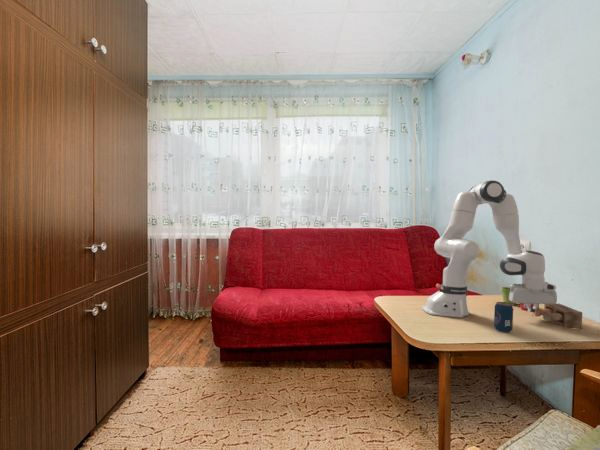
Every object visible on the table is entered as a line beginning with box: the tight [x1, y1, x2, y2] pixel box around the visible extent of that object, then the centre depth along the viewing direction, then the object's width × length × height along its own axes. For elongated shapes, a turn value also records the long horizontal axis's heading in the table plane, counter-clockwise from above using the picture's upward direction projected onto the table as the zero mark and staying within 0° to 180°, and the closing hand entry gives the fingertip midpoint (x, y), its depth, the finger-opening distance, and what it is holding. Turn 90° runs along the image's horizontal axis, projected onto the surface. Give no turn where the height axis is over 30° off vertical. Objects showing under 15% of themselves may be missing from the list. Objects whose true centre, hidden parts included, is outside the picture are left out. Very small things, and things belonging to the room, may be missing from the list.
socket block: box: [543, 302, 583, 330], centre depth 148 cm, size 7×14×8 cm, turn 175°
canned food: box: [519, 303, 534, 312], centre depth 168 cm, size 8×8×11 cm
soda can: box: [493, 301, 514, 333], centre depth 138 cm, size 7×7×12 cm
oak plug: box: [542, 312, 564, 322], centre depth 145 cm, size 8×4×4 cm, turn 85°
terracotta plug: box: [532, 306, 553, 317], centre depth 152 cm, size 8×4×4 cm, turn 85°
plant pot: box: [500, 286, 517, 306], centre depth 179 cm, size 9×9×9 cm
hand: (531, 312), depth 152 cm, fingers closed
